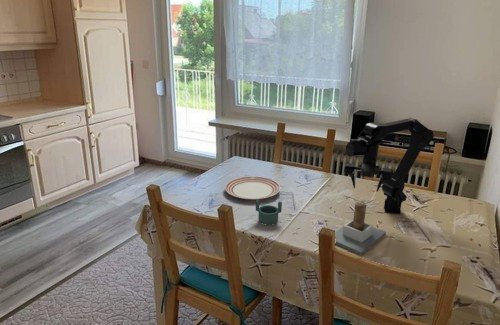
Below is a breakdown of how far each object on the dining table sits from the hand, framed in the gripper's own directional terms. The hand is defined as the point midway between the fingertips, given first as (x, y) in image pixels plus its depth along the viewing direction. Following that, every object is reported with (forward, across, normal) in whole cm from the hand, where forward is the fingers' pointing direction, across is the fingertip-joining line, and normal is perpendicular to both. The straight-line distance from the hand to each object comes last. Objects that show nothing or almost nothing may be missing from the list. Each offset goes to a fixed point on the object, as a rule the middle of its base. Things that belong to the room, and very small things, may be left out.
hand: (365, 189), depth 152 cm
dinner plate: (+13, -53, +6) cm, 55 cm away
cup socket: (+12, 0, -20) cm, 23 cm away
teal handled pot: (+13, -36, -19) cm, 43 cm away
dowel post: (+11, 0, -20) cm, 23 cm away
